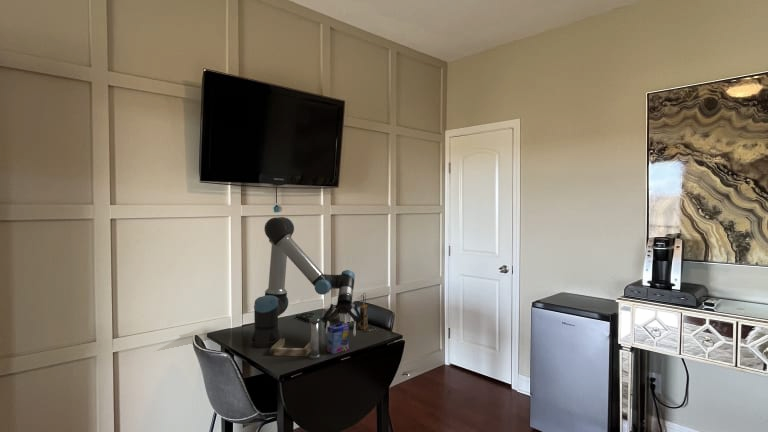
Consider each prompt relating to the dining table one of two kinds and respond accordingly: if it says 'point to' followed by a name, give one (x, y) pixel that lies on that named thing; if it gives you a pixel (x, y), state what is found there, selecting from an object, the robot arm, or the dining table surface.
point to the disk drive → (308, 316)
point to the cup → (346, 317)
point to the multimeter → (364, 315)
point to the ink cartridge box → (337, 338)
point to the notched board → (289, 349)
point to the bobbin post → (314, 338)
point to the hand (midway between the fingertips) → (340, 334)
